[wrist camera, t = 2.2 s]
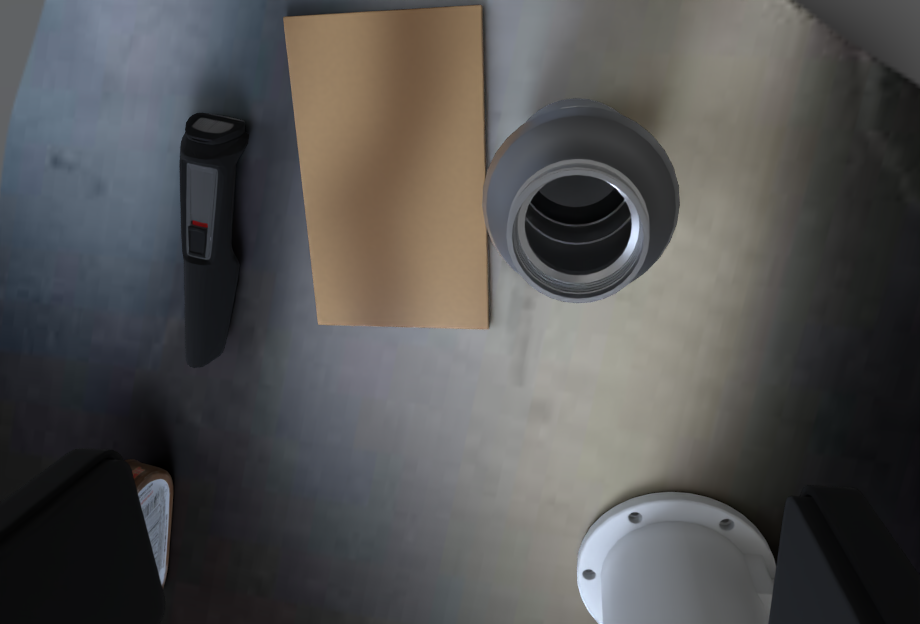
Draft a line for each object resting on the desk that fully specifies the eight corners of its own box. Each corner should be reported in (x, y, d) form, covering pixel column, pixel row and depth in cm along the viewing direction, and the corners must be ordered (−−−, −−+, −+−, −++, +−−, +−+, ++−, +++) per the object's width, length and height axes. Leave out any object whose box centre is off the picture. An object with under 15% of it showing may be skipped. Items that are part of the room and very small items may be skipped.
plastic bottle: (541, 79, 34) (498, 66, 15) (659, 124, 34) (761, 167, 15) (498, 192, 36) (416, 298, 18) (608, 235, 36) (643, 389, 18)
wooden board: (482, 5, 33) (481, 4, 33) (489, 327, 39) (488, 329, 39) (286, 17, 35) (282, 16, 35) (320, 322, 41) (317, 325, 41)
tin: (145, 436, 47) (58, 506, 39) (185, 448, 46) (105, 521, 39) (138, 591, 52) (60, 679, 44) (174, 602, 52) (102, 694, 44)
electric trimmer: (189, 342, 44) (161, 361, 41) (196, 110, 38) (164, 112, 35) (241, 355, 43) (216, 375, 40) (255, 122, 38) (228, 126, 35)
